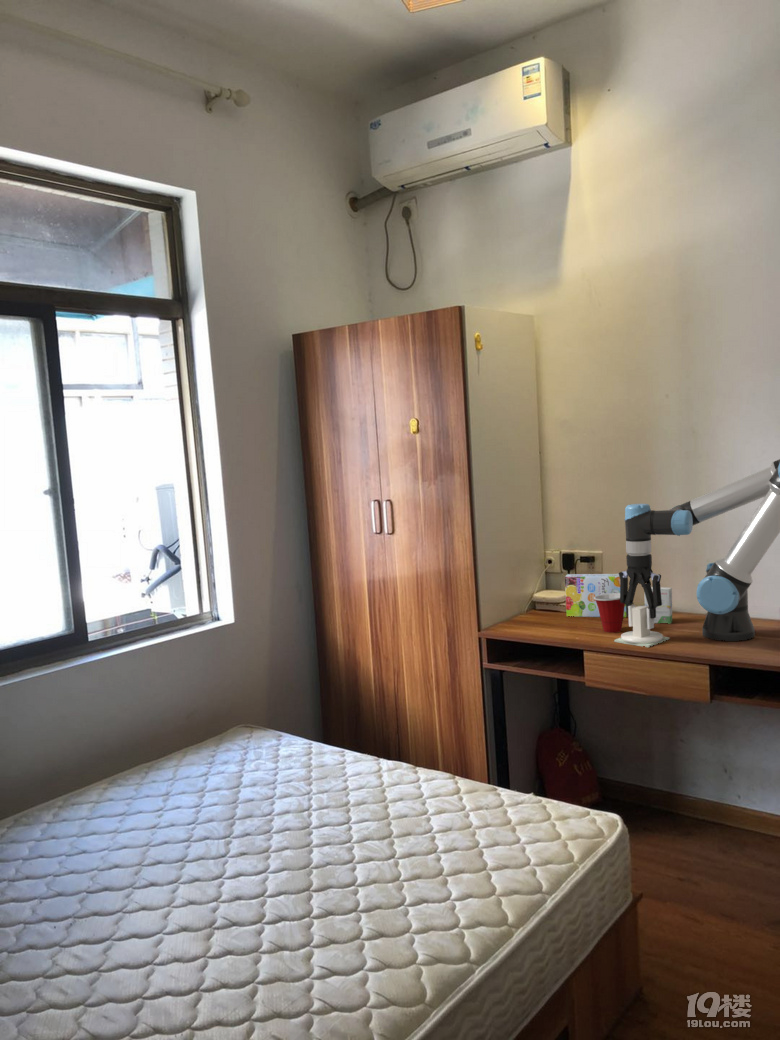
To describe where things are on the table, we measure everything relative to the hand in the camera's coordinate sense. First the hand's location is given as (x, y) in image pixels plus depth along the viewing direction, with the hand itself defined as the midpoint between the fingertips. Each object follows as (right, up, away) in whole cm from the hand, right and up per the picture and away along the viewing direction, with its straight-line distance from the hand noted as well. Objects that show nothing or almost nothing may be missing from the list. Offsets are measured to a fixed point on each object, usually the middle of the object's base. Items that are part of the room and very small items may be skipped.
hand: (641, 626), depth 255 cm
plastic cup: (-5, -3, +16) cm, 17 cm away
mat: (0, -4, 0) cm, 4 cm away
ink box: (+13, -2, +23) cm, 27 cm away
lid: (0, -4, 0) cm, 4 cm away
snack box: (-4, -1, +39) cm, 39 cm away
